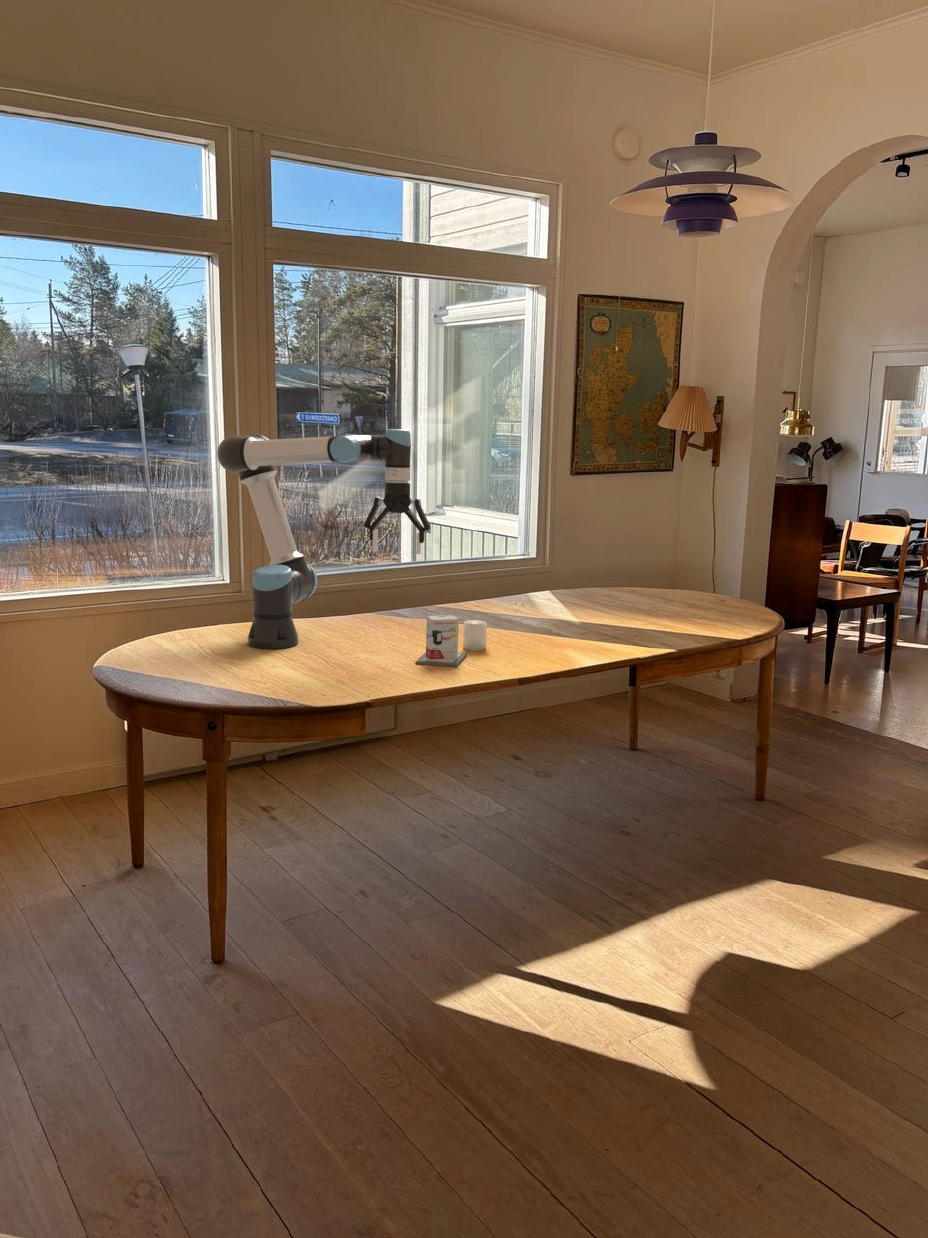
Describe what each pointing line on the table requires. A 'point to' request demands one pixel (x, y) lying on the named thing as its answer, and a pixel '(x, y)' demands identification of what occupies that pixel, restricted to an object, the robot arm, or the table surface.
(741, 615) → the table surface
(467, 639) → the white ceramic tumbler
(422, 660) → the e-reader
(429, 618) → the ink box
